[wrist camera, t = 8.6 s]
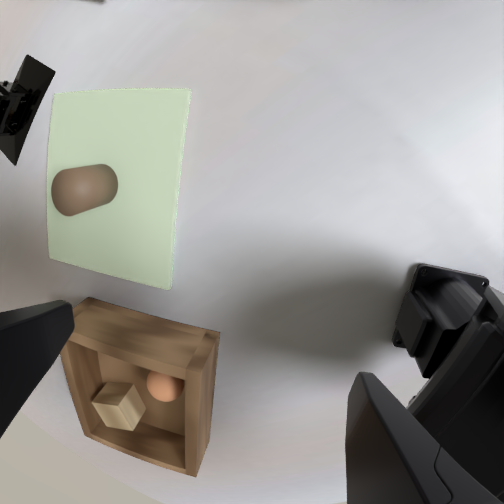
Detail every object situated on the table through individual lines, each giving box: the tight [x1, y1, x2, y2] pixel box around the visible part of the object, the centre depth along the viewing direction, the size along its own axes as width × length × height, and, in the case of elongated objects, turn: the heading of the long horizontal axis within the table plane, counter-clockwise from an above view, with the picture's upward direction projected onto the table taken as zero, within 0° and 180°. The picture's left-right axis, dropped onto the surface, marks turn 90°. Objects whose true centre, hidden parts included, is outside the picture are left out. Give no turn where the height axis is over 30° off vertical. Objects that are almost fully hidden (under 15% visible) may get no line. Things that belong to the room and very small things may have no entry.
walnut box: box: [60, 297, 220, 477], centre depth 24 cm, size 12×14×5 cm
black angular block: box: [0, 55, 55, 166], centre depth 19 cm, size 12×7×5 cm, turn 143°
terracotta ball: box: [147, 370, 184, 402], centre depth 23 cm, size 3×3×3 cm
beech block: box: [92, 382, 146, 431], centre depth 25 cm, size 3×3×3 cm
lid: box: [47, 88, 192, 290], centre depth 20 cm, size 12×14×5 cm
